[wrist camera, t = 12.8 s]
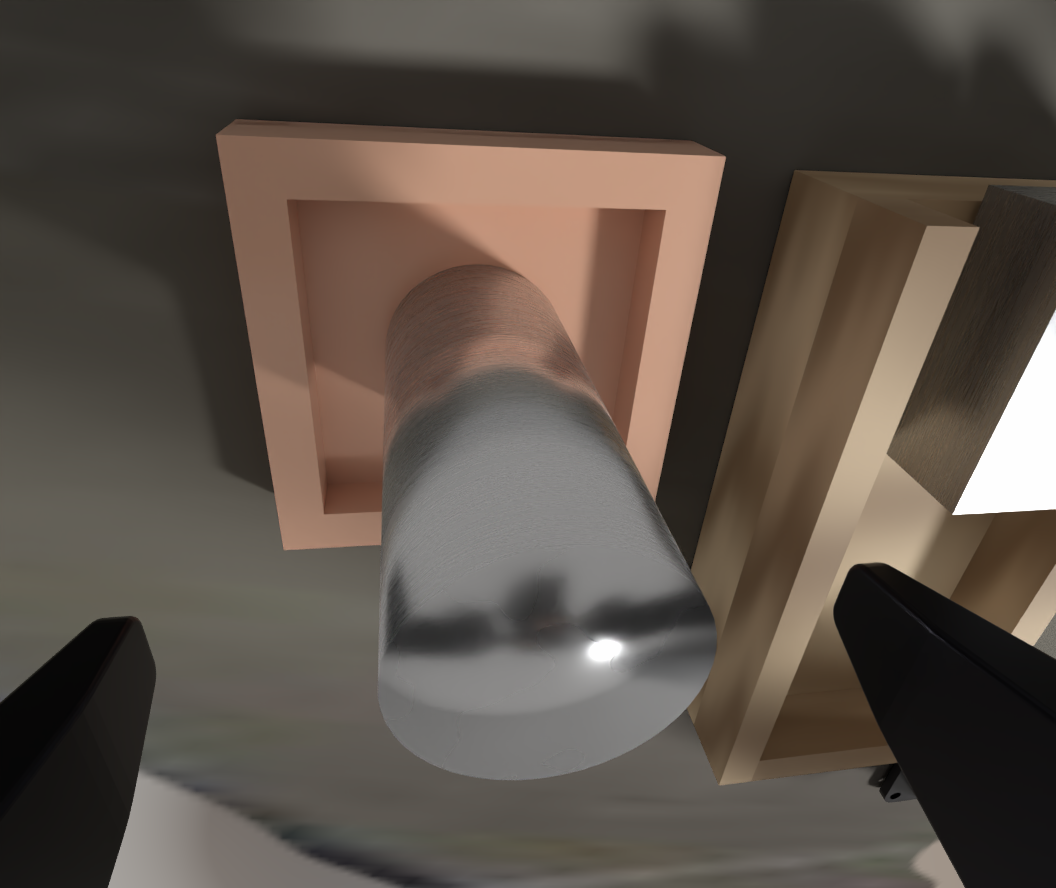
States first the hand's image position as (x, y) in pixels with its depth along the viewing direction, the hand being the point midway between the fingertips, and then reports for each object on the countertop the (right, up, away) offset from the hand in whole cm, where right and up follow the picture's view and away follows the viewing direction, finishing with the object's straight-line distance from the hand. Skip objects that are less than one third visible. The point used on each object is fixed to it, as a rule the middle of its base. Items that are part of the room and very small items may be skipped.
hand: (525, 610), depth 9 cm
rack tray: (-1, +5, +7) cm, 9 cm away
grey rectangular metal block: (+10, +5, +6) cm, 13 cm away
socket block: (+9, +2, +11) cm, 15 cm away
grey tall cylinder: (-1, +4, +7) cm, 8 cm away
